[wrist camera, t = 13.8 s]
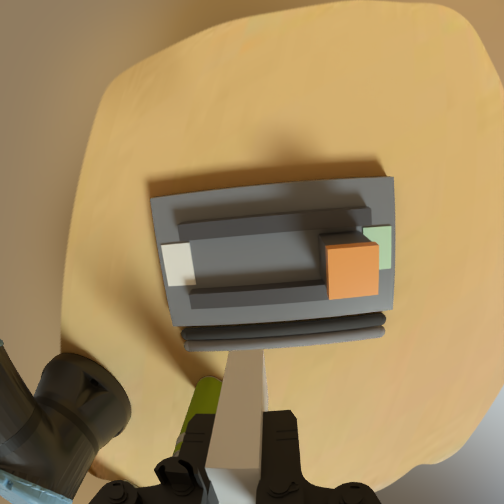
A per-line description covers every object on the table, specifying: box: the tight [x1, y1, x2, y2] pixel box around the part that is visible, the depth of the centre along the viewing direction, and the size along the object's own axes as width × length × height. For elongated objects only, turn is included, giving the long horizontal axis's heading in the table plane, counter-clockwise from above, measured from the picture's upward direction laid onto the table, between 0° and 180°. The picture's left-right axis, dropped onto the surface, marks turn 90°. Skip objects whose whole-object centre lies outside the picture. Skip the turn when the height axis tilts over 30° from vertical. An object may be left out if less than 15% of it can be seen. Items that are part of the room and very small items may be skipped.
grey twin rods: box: [181, 313, 386, 352], centre depth 35 cm, size 23×3×1 cm, turn 96°
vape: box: [172, 376, 223, 457], centre depth 29 cm, size 4×6×20 cm, turn 52°
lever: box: [318, 231, 379, 300], centre depth 28 cm, size 4×4×6 cm
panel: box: [150, 176, 395, 326], centre depth 32 cm, size 24×14×4 cm, turn 96°
